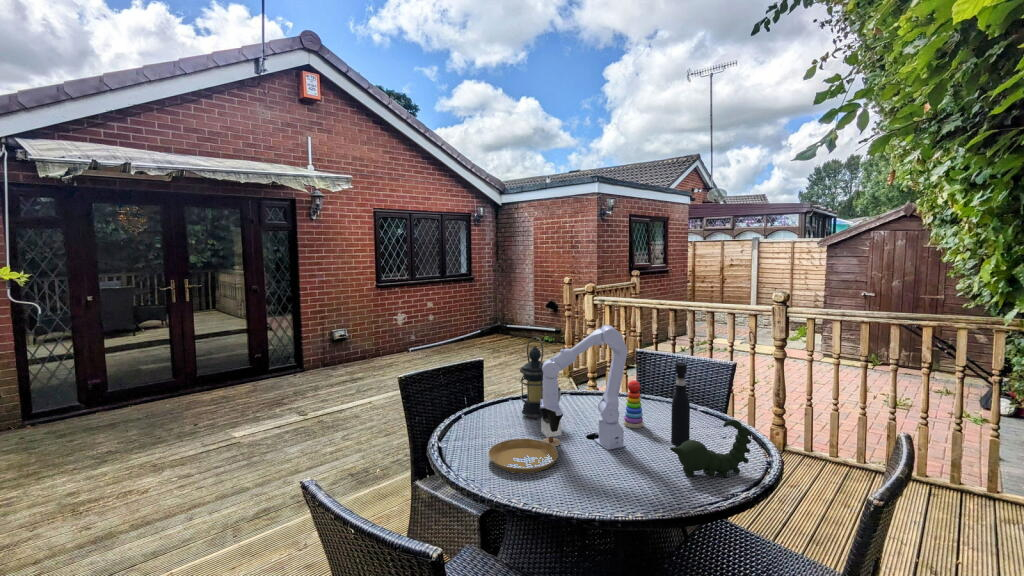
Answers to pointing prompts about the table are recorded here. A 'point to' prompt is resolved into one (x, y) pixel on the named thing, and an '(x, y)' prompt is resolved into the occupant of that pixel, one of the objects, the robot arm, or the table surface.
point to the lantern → (533, 382)
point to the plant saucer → (521, 454)
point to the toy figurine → (714, 454)
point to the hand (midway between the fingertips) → (550, 428)
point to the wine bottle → (680, 409)
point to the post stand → (552, 441)
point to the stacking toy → (633, 407)
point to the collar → (549, 428)
